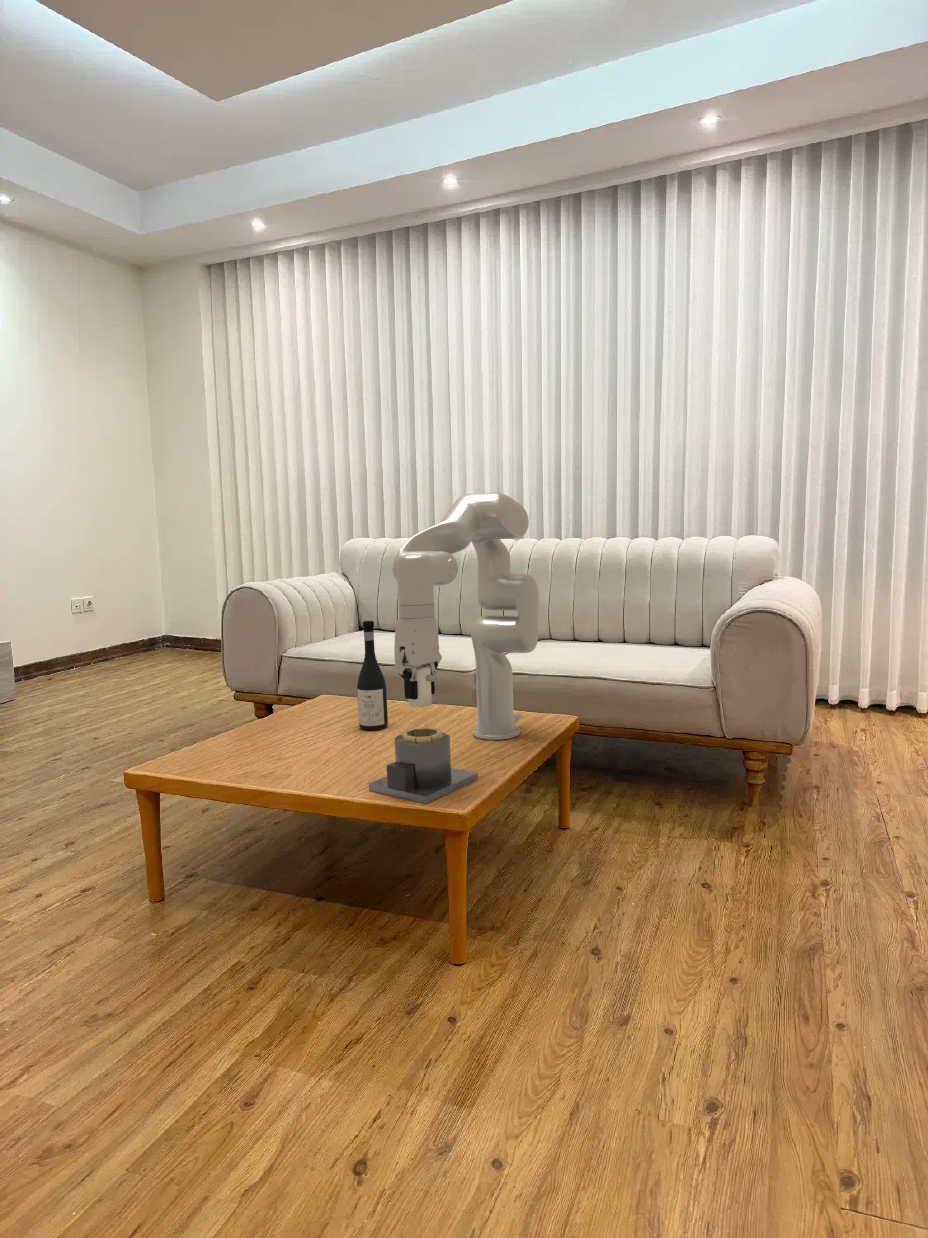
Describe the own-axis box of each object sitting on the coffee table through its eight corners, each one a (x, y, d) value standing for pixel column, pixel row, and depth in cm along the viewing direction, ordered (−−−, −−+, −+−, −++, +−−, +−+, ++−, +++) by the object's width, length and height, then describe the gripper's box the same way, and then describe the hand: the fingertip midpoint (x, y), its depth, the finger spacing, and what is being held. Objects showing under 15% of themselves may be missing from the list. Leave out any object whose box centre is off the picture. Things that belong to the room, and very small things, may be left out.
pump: (418, 700, 184) (417, 664, 183) (442, 703, 180) (441, 667, 179) (403, 705, 180) (402, 668, 179) (428, 708, 176) (426, 671, 175)
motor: (422, 768, 195) (420, 719, 193) (478, 779, 185) (476, 728, 183) (369, 790, 180) (366, 737, 179) (426, 803, 171) (423, 748, 169)
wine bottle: (383, 731, 229) (378, 622, 225) (355, 731, 230) (350, 623, 226) (391, 723, 237) (385, 618, 233) (363, 723, 238) (358, 619, 234)
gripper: (428, 607, 187) (431, 687, 189) (376, 616, 173) (380, 702, 176) (454, 608, 182) (457, 690, 184) (403, 617, 169) (407, 706, 171)
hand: (419, 695), depth 180 cm, fingers closed on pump, 5 cm apart
